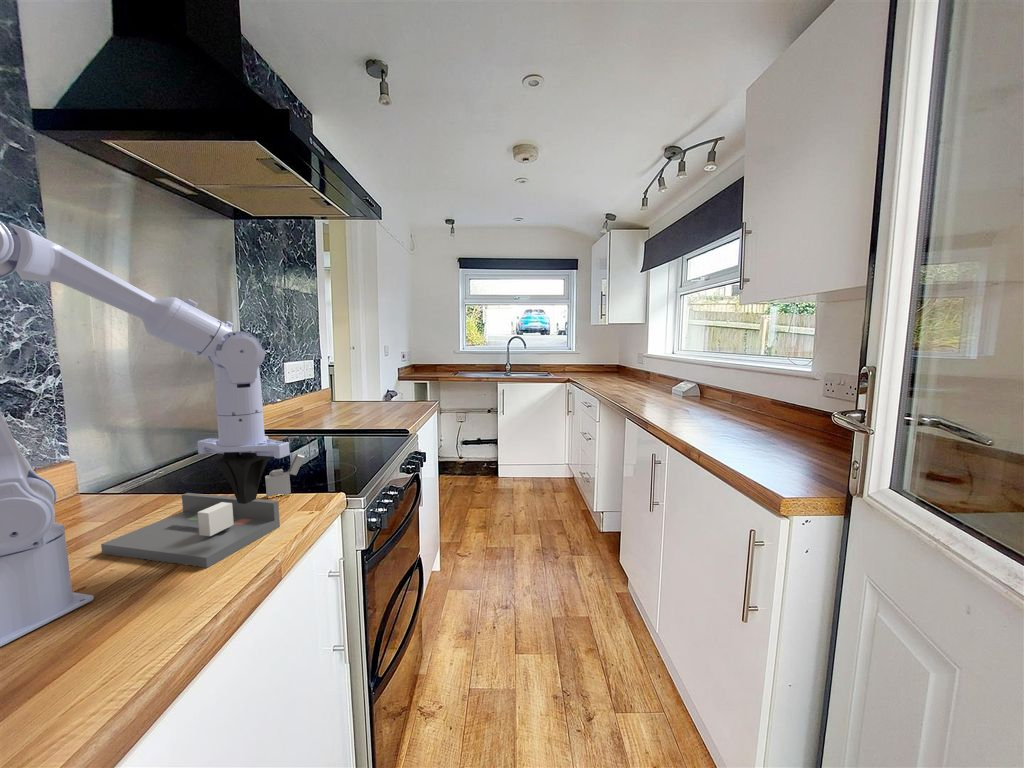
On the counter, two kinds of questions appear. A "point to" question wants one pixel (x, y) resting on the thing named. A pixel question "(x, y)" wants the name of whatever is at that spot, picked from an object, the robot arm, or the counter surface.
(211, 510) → the knob
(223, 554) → the switch panel
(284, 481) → the lighter
